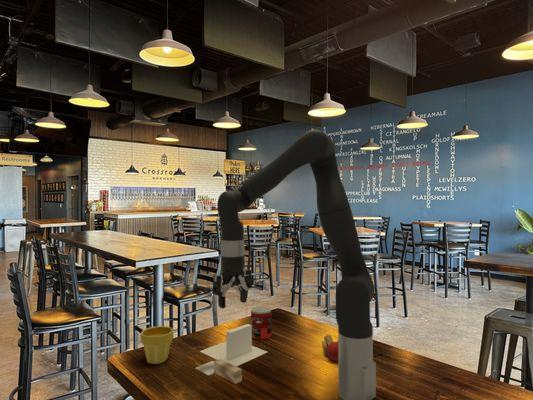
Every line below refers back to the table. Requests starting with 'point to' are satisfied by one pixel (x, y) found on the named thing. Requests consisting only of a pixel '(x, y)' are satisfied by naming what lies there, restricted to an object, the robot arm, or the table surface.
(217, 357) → the mat
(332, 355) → the kendama
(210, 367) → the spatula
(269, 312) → the canned food
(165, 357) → the plant pot
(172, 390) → the table surface
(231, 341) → the tile
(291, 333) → the table surface
